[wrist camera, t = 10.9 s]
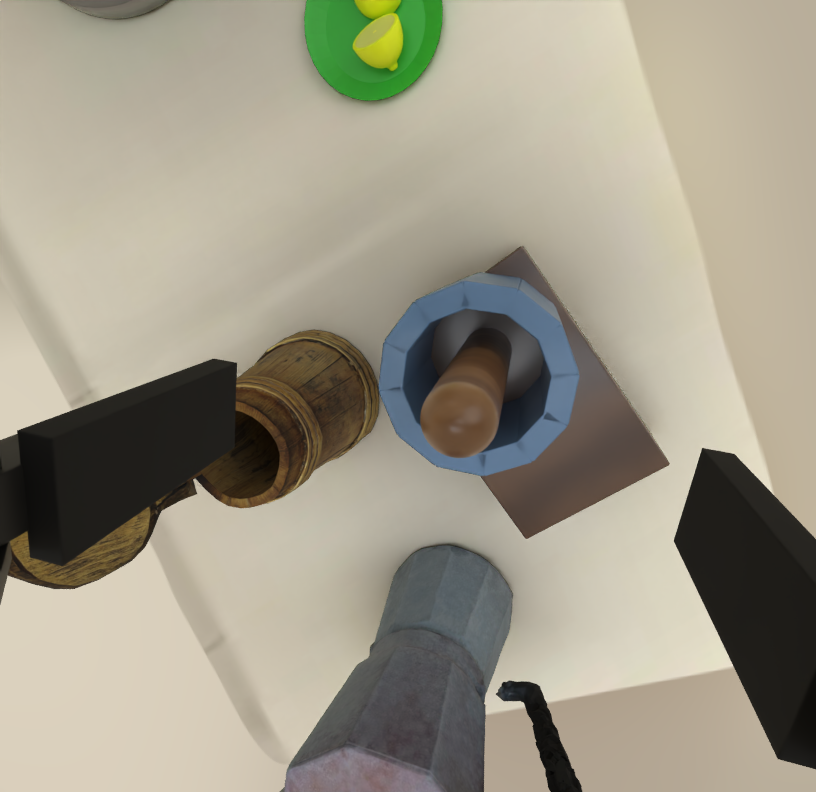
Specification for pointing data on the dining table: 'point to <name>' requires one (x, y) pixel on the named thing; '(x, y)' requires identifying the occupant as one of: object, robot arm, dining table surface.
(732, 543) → the robot arm
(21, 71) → the dining table surface
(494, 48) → the dining table surface
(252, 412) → the wooden mug
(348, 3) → the green plate
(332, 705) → the moka pot
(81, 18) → the dining table surface
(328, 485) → the dining table surface
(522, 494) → the peg box
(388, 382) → the blue faceted cup
